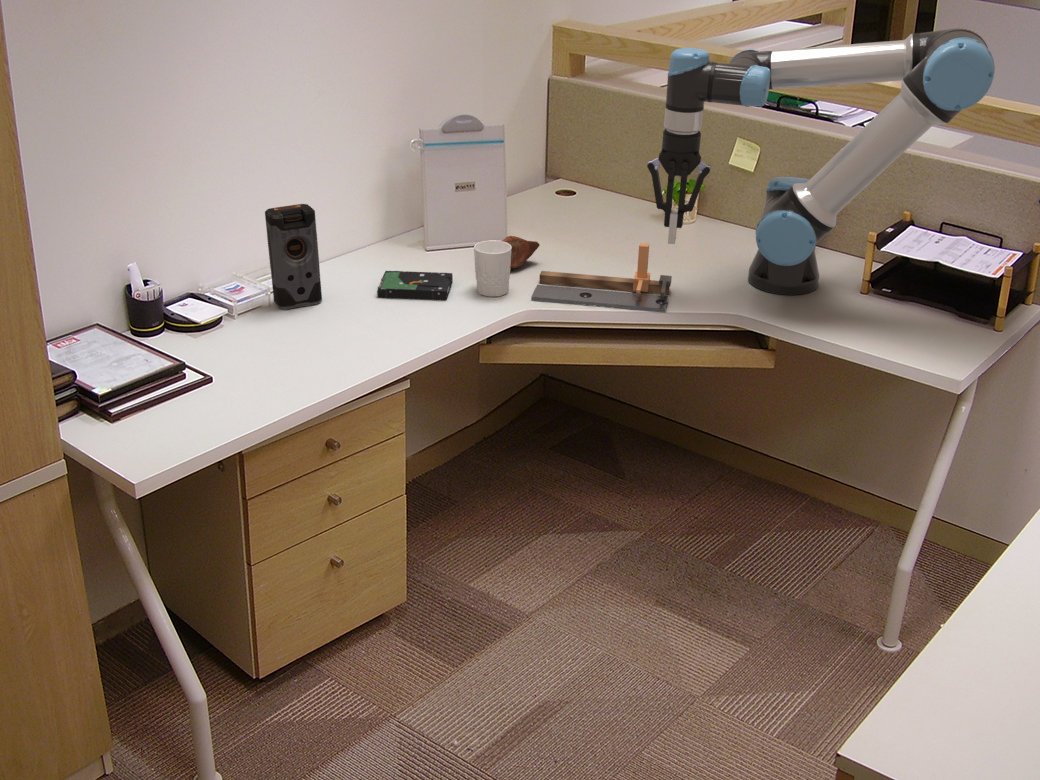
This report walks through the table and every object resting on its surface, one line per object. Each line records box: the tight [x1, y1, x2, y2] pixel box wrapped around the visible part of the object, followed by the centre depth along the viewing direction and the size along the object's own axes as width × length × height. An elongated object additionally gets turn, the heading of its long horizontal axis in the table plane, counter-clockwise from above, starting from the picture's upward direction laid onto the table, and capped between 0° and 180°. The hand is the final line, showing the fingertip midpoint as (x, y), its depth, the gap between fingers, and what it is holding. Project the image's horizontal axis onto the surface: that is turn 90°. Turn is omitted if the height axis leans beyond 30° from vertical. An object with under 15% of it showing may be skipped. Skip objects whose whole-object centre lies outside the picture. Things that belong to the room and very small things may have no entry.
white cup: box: [473, 239, 512, 298], centre depth 228 cm, size 8×8×10 cm
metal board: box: [530, 284, 669, 313], centre depth 226 cm, size 28×7×1 cm, turn 79°
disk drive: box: [376, 270, 454, 301], centre depth 230 cm, size 10×3×15 cm
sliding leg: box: [633, 242, 651, 298], centre depth 226 cm, size 3×10×10 cm, turn 169°
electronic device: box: [264, 203, 323, 311], centre depth 219 cm, size 9×6×20 cm, turn 117°
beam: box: [539, 270, 673, 300], centre depth 229 cm, size 28×10×3 cm, turn 79°
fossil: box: [501, 235, 540, 269], centre depth 241 cm, size 13×8×10 cm
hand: (671, 241), depth 226 cm, fingers closed
